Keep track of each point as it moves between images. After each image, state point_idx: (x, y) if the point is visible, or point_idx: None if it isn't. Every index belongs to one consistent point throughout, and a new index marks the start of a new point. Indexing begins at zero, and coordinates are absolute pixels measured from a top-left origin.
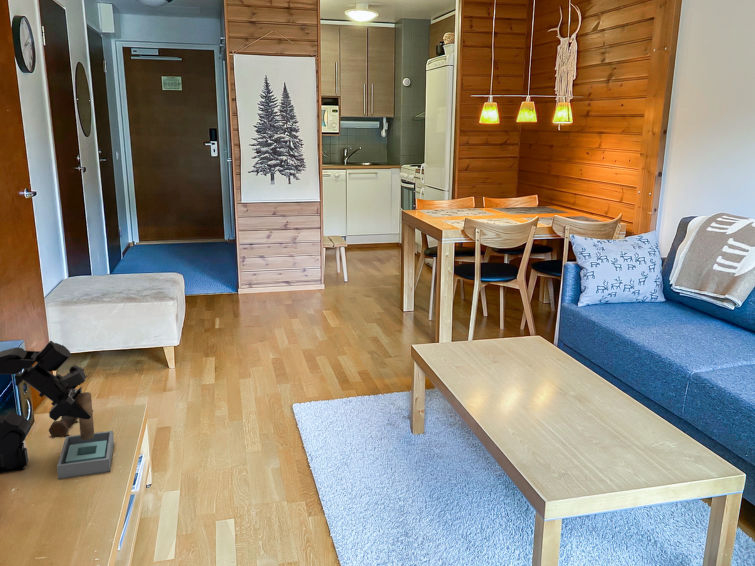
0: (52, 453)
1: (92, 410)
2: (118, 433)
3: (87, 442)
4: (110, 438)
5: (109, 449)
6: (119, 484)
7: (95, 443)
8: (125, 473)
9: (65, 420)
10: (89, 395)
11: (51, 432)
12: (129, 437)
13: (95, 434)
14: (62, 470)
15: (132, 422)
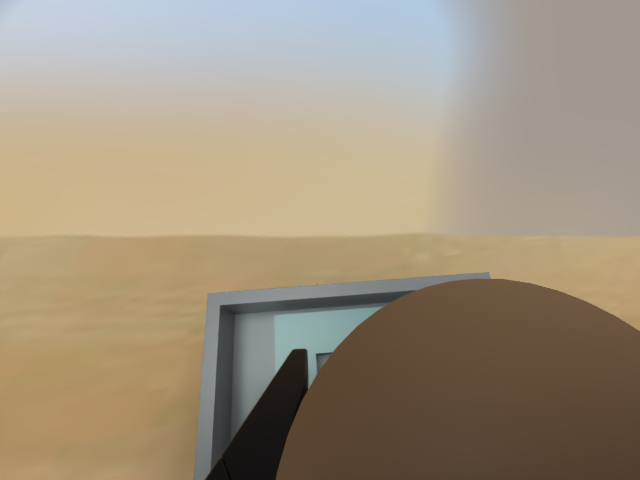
0: None
1: (306, 351)
2: (146, 298)
3: (227, 418)
4: (290, 292)
5: (400, 281)
6: (541, 246)
7: None
8: (470, 237)
9: None
10: (579, 308)
11: None
12: (200, 253)
13: (216, 376)
14: None
15: (65, 257)
